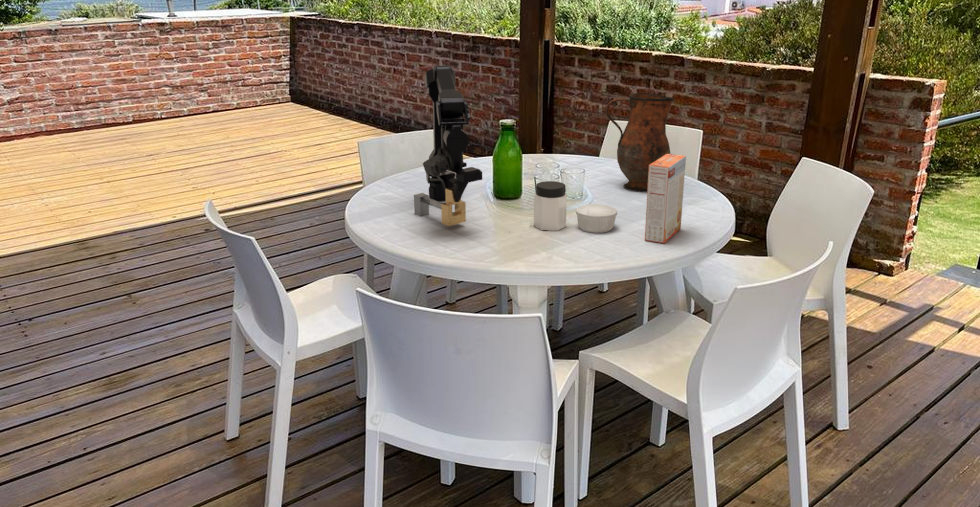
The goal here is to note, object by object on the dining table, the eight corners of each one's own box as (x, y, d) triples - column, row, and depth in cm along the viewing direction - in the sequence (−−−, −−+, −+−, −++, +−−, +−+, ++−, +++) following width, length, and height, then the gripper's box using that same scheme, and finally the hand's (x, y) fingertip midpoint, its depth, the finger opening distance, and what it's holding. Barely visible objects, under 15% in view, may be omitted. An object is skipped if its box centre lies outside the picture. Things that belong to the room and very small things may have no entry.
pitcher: (671, 194, 247) (679, 99, 237) (604, 194, 248) (609, 99, 238) (662, 181, 263) (669, 91, 252) (599, 180, 264) (603, 91, 253)
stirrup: (459, 219, 218) (458, 185, 215) (465, 221, 216) (465, 187, 212) (441, 223, 214) (440, 189, 211) (448, 226, 212) (447, 191, 209)
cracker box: (660, 226, 218) (665, 152, 211) (681, 229, 215) (687, 155, 208) (642, 240, 207) (647, 163, 200) (664, 244, 204) (670, 166, 197)
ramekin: (568, 224, 220) (568, 206, 218) (602, 219, 224) (603, 202, 222) (588, 236, 210) (589, 218, 208) (623, 231, 214) (624, 213, 213)
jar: (570, 229, 216) (572, 187, 212) (545, 233, 213) (546, 190, 209) (554, 220, 224) (555, 179, 219) (529, 224, 220) (529, 182, 216)
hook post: (423, 213, 230) (422, 192, 228) (454, 225, 219) (453, 203, 217) (411, 216, 227) (410, 194, 225) (441, 228, 217) (440, 206, 214)
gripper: (407, 142, 209) (409, 198, 215) (449, 154, 196) (450, 214, 201) (440, 137, 216) (442, 191, 221) (483, 148, 203) (483, 206, 208)
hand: (453, 200), depth 213 cm, fingers closed on stirrup, 3 cm apart
